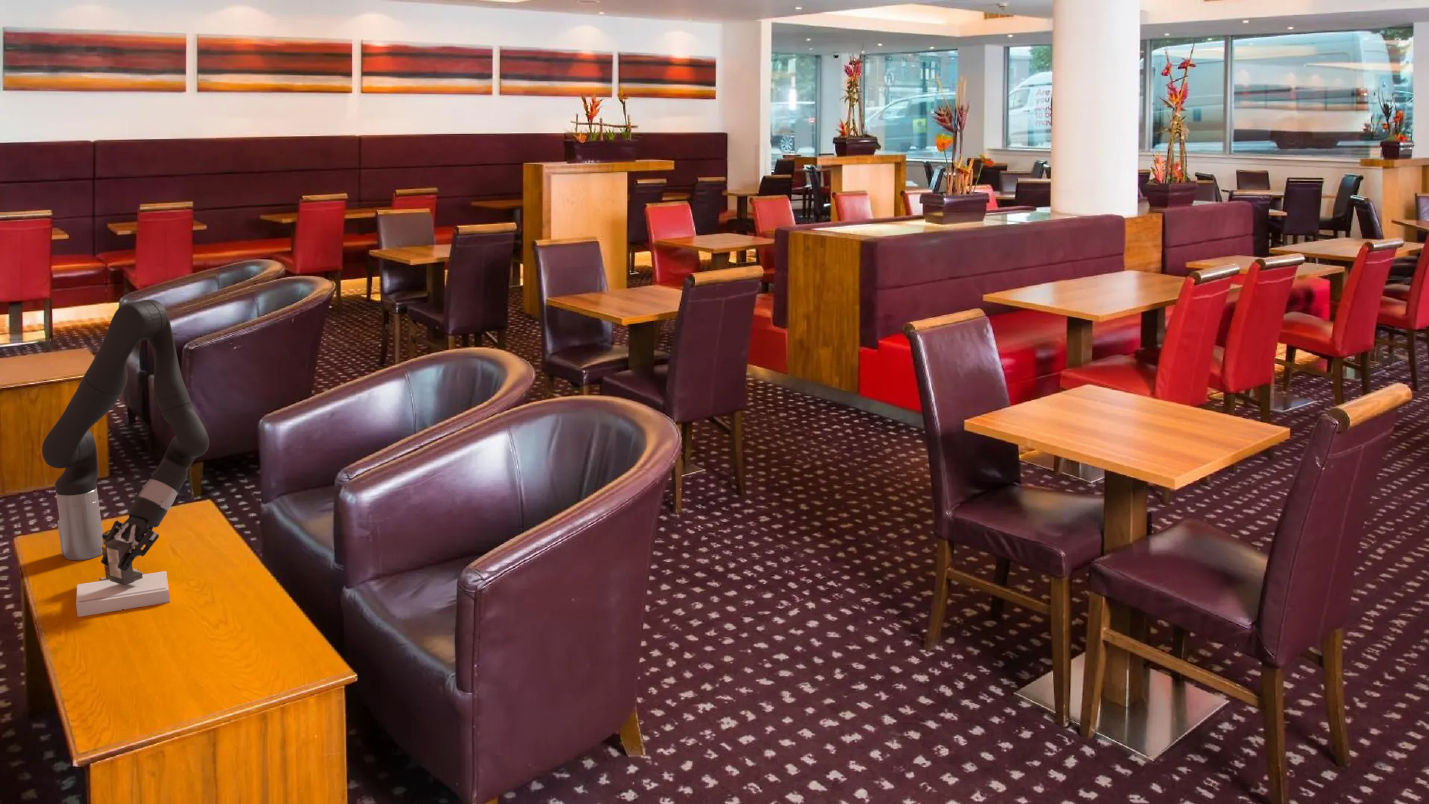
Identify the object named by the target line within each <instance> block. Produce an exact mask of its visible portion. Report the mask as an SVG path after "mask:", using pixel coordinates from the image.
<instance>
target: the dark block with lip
mask: <svg viewBox="0 0 1429 804" xmlns="http://www.w3.org/2000/svg"><path fill="white" fill-rule="evenodd" d="M129 546H130V544H129V543H127V542H123V541H119V540H116V539H113V540H110V541H107V542H105V547H106V555H107V562H108V570H109V577H110V581H112V582H115V583H119V584H122V585H127V584H130V583H133V582H134V581H136V580H139V579H142V578H143V577H142V573H143V572H142V573H139V572H136V571H133V569H134V568H132V567H133V562H132V563H131V565H130V566H129V568H128V569H127V570H126V571H122V570H121V569H119V568H118V564H119V563H120V561H121V559H122V558H123V556H124V555H125V553H128V552H127V550H128V548H129Z"/></svg>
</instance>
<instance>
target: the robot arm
mask: <svg viewBox="0 0 1429 804" xmlns="http://www.w3.org/2000/svg"><path fill="white" fill-rule="evenodd" d="M102 340H103V341H102V342H101V345H100V347H99V348H98V351H97V352H96V354H95V356H94V358H93V360H92V361H91V364H90V365H89V367H88V369H87V370H86V371H85V373H84V375H83V377H82V379H81V380H80V383H79V384H78V385H77V388H76V391H75V392H74V394H73V396H72V397H71V399H70V401H69V403H67V405H66V408H65V409H64V411H63V413H62V414H61V416H60V417H59V418H58V420H57V421H56V423H55V425H54V426H52V428H51V429H50V430H49V432H48V434H47V435H46V436H45V438H44V440H43V442H42V445H41V446H42V447H41V453H42V455H41V456H42V458H43V461H44V462H45V463H46V464H47V465H48V466H49V467H51V468H53V469H64V471H63V473H62V474H61V475H60V476H59V477H58V478H57V479H56V480H55V482H54V490H55V495H56V502H57V503H56V504H57V511H58V518H59V519H58V520H57V528H58V529H57V530H58V536H59V542H60V551H61V556H64V558H65V559H67V560H69V561H83V560H89V559H94V558H97V557H99V556H102V558H101V560H100V563H101V564H103V565H106V566H108V562H107V555H106V553H105V554H104V556H103V551H102V544H103V538H102V534H103V533H104V532H103V526H102V525H103V524H102V517H101V507H100V502H99V495H98V488H97V487H98V486H97V481H98V477H99V464H98V463H99V462H98V461H99V460H98V447H97V443H96V440H95V437H94V436H93V434H92V432H91V430H90V429H91V428H92V427H93V426H94V425H95V424H96V423H98V422H99V420H101V419H102V418H104V416H106V415H107V413H108V412H109V411H110V410H112V408H114V406H115V405H116V404H117V403H118V400H119V399H120V397H121V396H122V394H123V392H124V390H125V388H126V386H127V384H128V379H129V377H128V367H127V362H128V358H129V357H130V356H131V354H132V352H133V350H134V348H135V347H136V346H137V345H138V344H139V343H140V342H141V341H145V340H148V342H149V344H150V346H151V349H152V351H153V352H152V353H153V358H154V372H153V373H154V374H153V391H154V392H153V393H154V396H155V399H156V402H157V404H158V407H159V409H160V412H161V415H162V416H163V419H164V421H166V422H167V423H168V424H170V425H171V427H172V429H173V432H174V435H175V436H174V437H173V438H172V440H171V441H170V443H169V445H168V446H167V448H166V450H165V453H164V454H163V457H162V459H161V461H160V463H159V465H158V466H157V467H156V468H155V470H154V472H153V474H152V475H151V476H150V478H149V480H148V481H147V482H146V483H145V485H143V487H142V489H140V492H139V493H138V495H137V496H136V498H135V500H134V501H133V502H132V504H131V505H130V507H129V509H128V510H127V513H128V518H127V519H126V520H125V521H124V522H120V521H118V520H116V521H114V522H113V524H112V527H111V529H109V530H110V532H109V534H108V536H107V538H106V540H105V542H107V541H110V540H112V538H113V537H114V539H116V540H119V541H123V542H127V543H129V544H130V546H129V548H128V550H127V552H128V553H125V555H124V556H123V558H122V559H121V561H120V563H119V564H118V568H119V569H121V570H122V571H126V570H127V569H128V568H129V566H130V565H131V563H132V564H133V562H134V560H135V558H138V557H139V556H140V557H144V556H145V555H146V554H147V553H148V551H150V549H151V547H153V545H154V544H155V543H156V541H158V539H159V537H160V534H159V533H157V531H154V528H158V527H159V526H160V525H161V523H162V522H163V520H164V518H165V516H166V515H167V513H168V512H169V510H170V508H171V507H172V505H173V503H174V502H175V500H176V497H177V495H178V494H179V492H180V490H181V488H182V487H183V485H184V484H185V483H186V480H187V479H188V475H189V473H188V472H189V469H190V468H191V466H192V464H193V463H194V461H195V460H196V459H197V458H198V457H201V456H203V455H205V454H206V452H208V450H209V447H210V437H209V435H208V432H207V430H206V428H205V426H204V424H203V422H202V420H201V419H200V417H199V415H198V414H197V413H196V411H195V408H194V406H193V405H194V404H193V403H192V400H191V398H190V395H189V392H188V390H187V387H186V384H185V382H184V379H183V376H182V371H181V368H180V363H179V360H178V359H179V358H178V354H177V349H176V343H175V340H174V334H173V330H172V324H171V321H170V318H169V314H168V311H167V309H166V308H165V306H164V305H163V304H162V303H161V301H158V300H155V299H143V300H137V301H131V302H126V303H124V304H122V305H121V306H119V307H118V308H117V309H116V311H115V312H114V314H113V316H112V318H111V321H110V323H109V326H108V328H107V330H106V334H105V336H104V338H103V339H102ZM121 536H122V538H123V539H122V538H121ZM124 539H125V540H124Z"/></svg>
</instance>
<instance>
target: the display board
mask: <svg viewBox="0 0 1429 804" xmlns="http://www.w3.org/2000/svg"><path fill="white" fill-rule="evenodd" d="M142 577H143V578H142V579H139V580H136V581H134V582H133V583H130V584H127V585H122V584H119V583H115V582H112V581H110V580H104V581H103V580H97V581H92V582H91V581H90V582H86V583H85V582H83V583H77V586H76V600H75V601H76V602H75V607H76V613H77V617H80V618H81V617H87V616H91V615H98V614H104V613H110V612H111V613H112V612H116V611H123V610H122V609H124V610H129V609H135V608H141V607H147V606H154V605H160V604H167V603H170V602H171V599H170V590H169V582H168V574H167V570H164V571H163V570H162V571H157V572H152V573H151V572H150V573H144V574H143V575H142Z"/></svg>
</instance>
